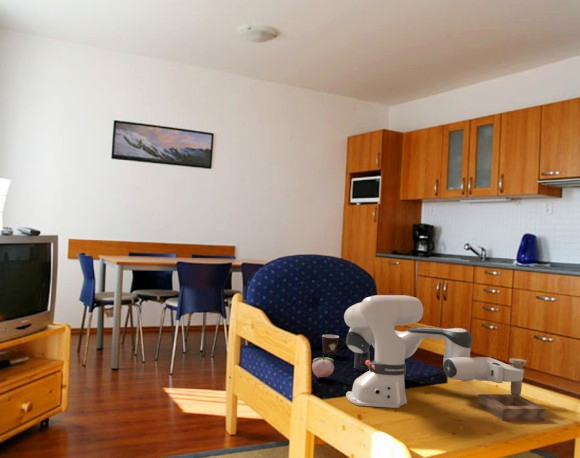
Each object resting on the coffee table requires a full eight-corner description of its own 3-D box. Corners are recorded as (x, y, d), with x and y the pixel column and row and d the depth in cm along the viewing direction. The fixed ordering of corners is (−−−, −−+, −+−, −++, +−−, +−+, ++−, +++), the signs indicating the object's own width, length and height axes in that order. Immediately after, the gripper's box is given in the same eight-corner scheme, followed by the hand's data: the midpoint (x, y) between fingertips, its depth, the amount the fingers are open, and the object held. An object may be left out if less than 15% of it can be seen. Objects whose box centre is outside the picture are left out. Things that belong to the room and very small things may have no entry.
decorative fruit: (328, 376, 219) (329, 352, 219) (335, 381, 211) (337, 357, 211) (307, 376, 216) (309, 353, 216) (314, 382, 208) (316, 357, 208)
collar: (502, 420, 173) (502, 408, 174) (477, 405, 189) (478, 394, 189) (544, 420, 176) (545, 408, 176) (516, 405, 192) (517, 394, 192)
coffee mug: (320, 357, 253) (321, 337, 253) (321, 353, 261) (322, 334, 262) (343, 359, 251) (344, 339, 251) (344, 355, 260) (345, 335, 260)
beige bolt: (526, 400, 196) (529, 361, 197) (512, 400, 195) (515, 360, 196) (517, 396, 201) (520, 358, 202) (504, 396, 200) (507, 358, 200)
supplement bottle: (371, 370, 233) (372, 343, 233) (365, 373, 227) (366, 346, 227) (357, 367, 236) (358, 341, 237) (351, 370, 231) (352, 343, 231)
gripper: (472, 370, 207) (503, 370, 209) (501, 384, 186) (535, 384, 189) (472, 354, 207) (503, 355, 209) (502, 367, 187) (536, 367, 189)
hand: (519, 369), depth 199 cm, fingers closed on beige bolt, 3 cm apart
